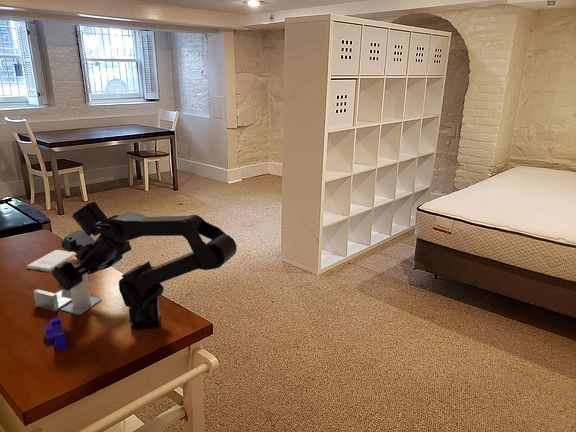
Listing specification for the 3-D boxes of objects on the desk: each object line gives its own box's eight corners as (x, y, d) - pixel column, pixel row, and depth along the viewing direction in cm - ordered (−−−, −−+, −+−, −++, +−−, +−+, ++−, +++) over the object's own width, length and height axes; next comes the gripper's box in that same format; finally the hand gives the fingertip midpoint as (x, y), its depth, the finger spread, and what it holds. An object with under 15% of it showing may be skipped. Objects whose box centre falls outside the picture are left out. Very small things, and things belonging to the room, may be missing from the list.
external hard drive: (77, 257, 144) (49, 273, 132) (55, 253, 145) (26, 269, 134) (76, 252, 143) (48, 268, 132) (55, 249, 145) (26, 264, 133)
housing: (84, 293, 120) (82, 279, 119) (55, 311, 111) (52, 296, 110) (66, 289, 122) (63, 275, 121) (36, 306, 113) (33, 291, 112)
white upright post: (92, 299, 117) (86, 254, 113) (89, 307, 113) (82, 261, 109) (75, 300, 116) (68, 255, 112) (71, 309, 112) (63, 262, 108)
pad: (101, 300, 117) (101, 299, 117) (79, 314, 110) (79, 313, 110) (84, 295, 119) (84, 294, 119) (61, 310, 112) (60, 309, 112)
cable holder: (45, 335, 102) (43, 321, 101) (61, 331, 104) (59, 316, 103) (49, 353, 96) (46, 338, 94) (66, 348, 98) (64, 333, 96)
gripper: (109, 212, 114) (81, 244, 121) (51, 236, 97) (23, 271, 104) (136, 244, 114) (107, 274, 121) (83, 273, 98) (52, 306, 105)
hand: (74, 280), depth 113 cm, fingers open, 9 cm apart
